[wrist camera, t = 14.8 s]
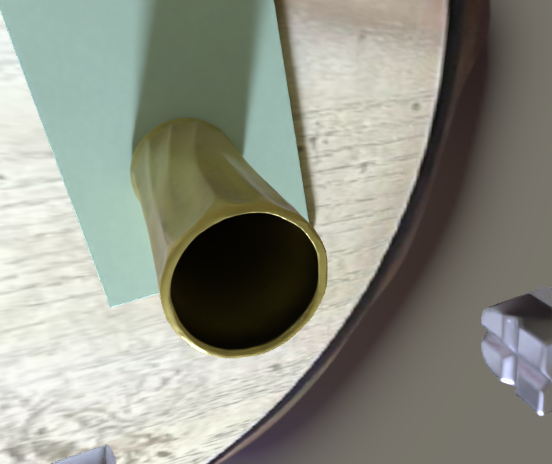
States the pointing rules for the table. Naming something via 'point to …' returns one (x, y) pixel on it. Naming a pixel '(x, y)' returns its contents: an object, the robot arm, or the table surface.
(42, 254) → the table surface
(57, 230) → the table surface
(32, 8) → the mat
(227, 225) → the vase
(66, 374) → the table surface
